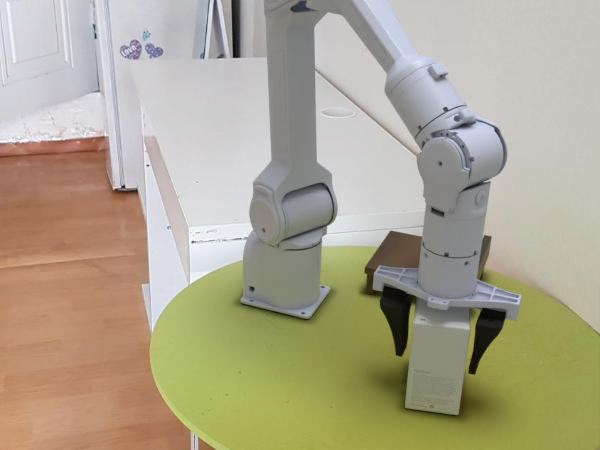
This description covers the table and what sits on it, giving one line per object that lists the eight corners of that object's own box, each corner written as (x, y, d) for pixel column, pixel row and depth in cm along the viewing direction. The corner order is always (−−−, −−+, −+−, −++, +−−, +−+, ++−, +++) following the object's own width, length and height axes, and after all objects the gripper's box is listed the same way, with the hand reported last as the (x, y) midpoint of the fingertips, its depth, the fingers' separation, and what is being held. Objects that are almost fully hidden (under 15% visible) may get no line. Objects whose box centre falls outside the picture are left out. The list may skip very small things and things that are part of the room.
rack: (362, 293, 98) (365, 253, 96) (388, 255, 108) (391, 217, 106) (469, 318, 94) (475, 276, 91) (485, 275, 104) (491, 236, 101)
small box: (458, 417, 77) (471, 330, 72) (403, 409, 78) (412, 323, 73) (459, 371, 84) (471, 289, 79) (409, 364, 85) (417, 282, 80)
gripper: (367, 247, 72) (359, 363, 78) (522, 278, 67) (500, 400, 73) (387, 219, 78) (378, 329, 84) (531, 246, 73) (511, 361, 79)
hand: (436, 360), depth 79 cm, fingers open, 7 cm apart
